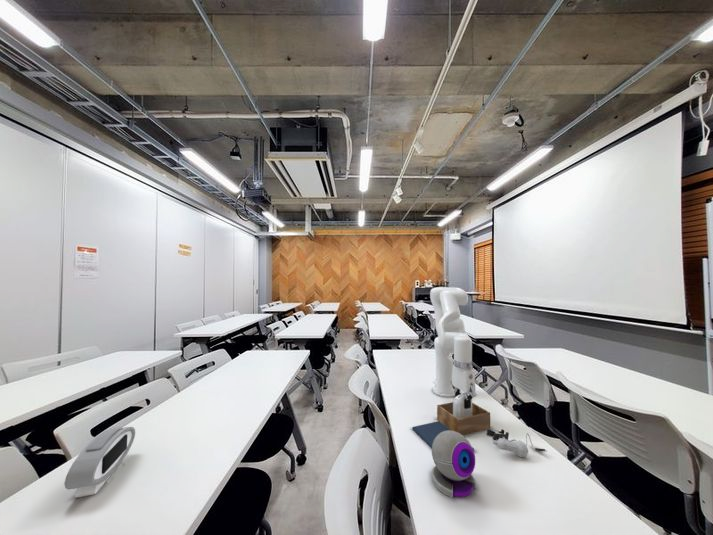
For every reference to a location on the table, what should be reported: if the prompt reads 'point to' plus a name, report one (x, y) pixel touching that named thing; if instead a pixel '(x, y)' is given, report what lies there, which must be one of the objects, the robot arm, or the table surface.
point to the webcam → (453, 464)
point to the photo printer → (461, 407)
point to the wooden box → (463, 419)
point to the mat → (430, 431)
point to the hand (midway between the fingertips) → (462, 404)
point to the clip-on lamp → (510, 443)
